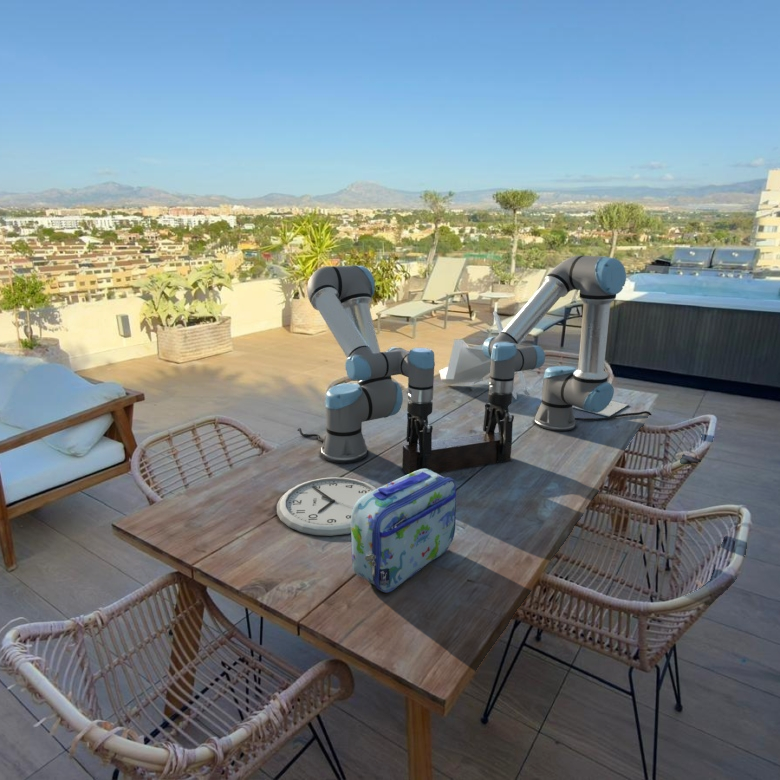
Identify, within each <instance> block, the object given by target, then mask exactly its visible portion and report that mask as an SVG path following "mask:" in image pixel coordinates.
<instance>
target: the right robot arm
mask: <svg viewBox="0 0 780 780" xmlns="http://www.w3.org/2000/svg"><path fill="white" fill-rule="evenodd" d="M626 271H627V270H626V268H625V266H624V264H623V263H622V262H621V261H620V259H617V258H615V257H609V256H595V255H583V254H582V255H581V254H580V255H574V256H571V257H569V258H567V259H565V260H563V261H561V262H560V263H559V264H557V265H556V266H555V267H554V268H553V269H552V270H551V271H550V272H549V273H548V274H547V275H546V276H545V277H544V278H543V284H542V285H541V286H540V287H539V289H537V290H536V291H535V292H534V294H533V295H532V296H531V297H530V298H529V300H527V302H526V303H525V304H524V306H523V307H522V308H521V309H520V310H519V311H518V312H517V313H516V315H514V317H513V318H512V319H511V320H510V321H509V323H507V325H506V326H505V327H504V328H503V331H502V332H501V333H500V334H499V333H498V335H497V336H490V337H488V338H486V339H485V340H484V341H483V344H482V345H483V348H482V350H483V354H484V355H485V356H486V357H487V358H490V359H491V366H490V373H489V383H488V394H487V402H488V403H484V417H483V426H482V431H483V432H484V433H485V434H490V433H496V427H497V429H498V432H499V440H500V443H498V449H497V461H496V462H497V463H496V464H500V463H505V462H506V461H505V454H506V448H507V445H509V444H513V425H514V424H513V422H514V419H515V415H514V414H510V412H509V406H511V405H512V403H513V395H512V391H513V385H515V383H514V382H515V373H517V372H518V371H523V372H524V371H530V370H531V371H533V370H535V369H539V368H541V367H543V365H544V364H545V361H546V353H545V350H544V349H543V348H542V347H541V346H540V345H523V344H521V343H522V342H523V341H524V340H525V339H526V337H527V336H528V335H529V334H530V333H531V331H533V330H534V328H535V327H536V326H537V325H538V324H539V323H540V321H542V319H543V318H544V317H545V316H546V315H547V314H548V312H549V311H550V310H551V308H553V307H554V305H556V303H557V302H558V301H559V300H560V298H564V297H566V296H567V295H568V294H569V293H570V292H571V291H574V290H577V291H579V296H578V297H579V299H580V300H581V301H582V302H583V304H582V315H581V316H582V317H581V329H580V330H581V331H580V342H579V354H578V365H577V367H574V366H569V365H568V366H567V365H557V366H550V367H547V368H546V369H545V371H544V375H543V378H542V379H543V381H542V392H541V402H540V405H537V406H536V410H537V411H536V413H535V417H534V424H535V425H536V426H537V427H539V428H542V429H544V430H549V431H556V432H567V431H572V430H574V429H575V428H576V421H584V422H585V421H586V422H588V421H589V422H591V421H592V422H593V421H594V422H595V421H607V420H613V419H616V418H620V417H621V418H622V417H628V416H640V415H645V414H647V415H648V416H653V414H652V413H651V412H650V411H648V410H643V411H639V412H628V413H626V412H625V413H620V414H615V415H611V416H609V417H608V416H604V417H576V416H575V413H574V407H578V408H581V409H584V410H585V411H584V410H583V411H584V412H588V411H590V412H589V413H592V412H594V413H593V414H596V413H597V412H600V411H602V410H604V409H605V408H606V407H607V406H608V405H609V403H610V402H611V401H613V397H614V393H615V389H614V388H615V387H614V386H613V385H612V384H611V383H610V382H608V379H609V378H608V377H609V374H608V373H607V372H606V371H605V363H606V352H607V344H608V343H607V341H608V333H609V332H608V331H609V320H610V311H611V303H612V302H613V301H615V300H616V299H617V295H618V294H620V293H621V292H622V291H623V289H624V288H623V287H625V285H626V280H627V272H626ZM497 425H498V426H497Z"/></svg>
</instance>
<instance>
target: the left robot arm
mask: <svg viewBox="0 0 780 780" xmlns="http://www.w3.org/2000/svg"><path fill="white" fill-rule="evenodd" d="M375 287H376V282H375V279H374V276H373V274H372V272H371V271H370V270H369V268H367V267H365V266H363V265H356V264H351V265H334V266H333V265H332V266H331V265H329V266H328V265H327V266H322V267H319V268H318V269H317V270H315V271H313V273H312V274H311V276H310V277H309V279H308V281H307V286H306V295H307V299H308V301H309V303H310V304H311V306H312V308H313V309H314V310H315V311H318V312H319V314H320V315H321V317H322V318H323V320H324V322H325V323H326V325H327V327H328V329H329V330H330V332H331V334H332V335H333V337H334V339H335V340H336V342H337V344H338V345H339V348H340V349H341V351H342V352H343V354H344V356H345V357H346V360H345V364H344V367H345V368H344V369H345V371H346V375H347V377H348V379H350V381H353V382H349V383H347V382H344V383H339V384H336V385H333V386H331V387H330V388H329V389H328V390H327V391H326V393H325V402H324V406H325V430H326V431H325V435H324V439H321V435H320V434H317V433H310V434H309V433H308V434H306V433H303V431H302V428H300V427H299V428H298V429H297V432H299V434H300V435H301V436H302V437H305V438H310V437H316V438H317V440H318V441H319V442H321V443H322V445H321V448H320V453H321V457H322V458H323V459H324V460H325V461H328V462H330V463H337V464H349V463H351V464H352V463H356V462H359V461H361V460H364V459H365V458H366V457H367V456H368V446H367V444H366V439H365V438H364V435H363V430H362V429H363V428H362V423H365V422H369V421H375V420H378V419H386V418H389V417H392V416H395V415H397V414H398V413H399V412H400V410H401V408H402V406H403V401H404V399H403V398H404V394H403V389H402V387H401V385H400V384H399V382H397V381H395V380H393V378H392V377H393V376H397V375H401V376H404V377H406V378H407V381H408V382H407V391H406V394H407V399H408V400H407V407H406V408H407V409H406V410H407V413H406V417H407V423H406V439H405V440H406V443H408V445H412V444H419V451H420V455H418V470H420V469H427V457H430V456H431V449H432V442H433V441H432V440H433V438H432V437H433V436H432V435H433V425H429V416H430V415H431V414H432V413H433V407H434V406H433V405H434V403H433V400H434V381H435V366H436V363H435V362H436V361H435V352H434V350H432V349H431V348H425V347H414V348H412V349H410V350H406V349H405V348H402V347H397V346H392V347H389V348H388V349H387V350H386V351H381V348H380V345H379V340H378V336H377V333H376V329H375V324H374V320H373V317H372V313H371V309H370V304H371V303H372V301H373V299H372V298H373V296H374V295H375V290H376V289H375ZM355 382H357V383H355Z"/></svg>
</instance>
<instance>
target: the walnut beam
mask: <svg viewBox="0 0 780 780" xmlns="http://www.w3.org/2000/svg"><path fill="white" fill-rule="evenodd" d="M498 443H500V440H499V431H498V432H495V433H490V434H486V433H484V434H476V435H469V436H463V437H462V436H461V437H456V438H447V439H441V440H434V441H432V449H431V456H430V457H427V469H429V470H431V471H433V472H435V473H437V474H439V473H445V472H449V471H457V470H463V469H468V468H476V467H481V466H486V465H487V466H488V465H493V464H498V463H497V462H496V461H497V449H498ZM512 444H513V443H512ZM512 444H509V445H507V448H506V454H505V462H510V461H511V455H512ZM418 455H420V451H419V444H412V445H409V444H405V445H402V466H401V467H402V471H404V472H405V475H407V474H410V473H412V472H414V471H417V470H418Z"/></svg>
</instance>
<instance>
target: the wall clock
mask: <svg viewBox="0 0 780 780" xmlns="http://www.w3.org/2000/svg"><path fill="white" fill-rule="evenodd" d="M376 489H378V487H376V486H374V485H372V484H371V483H369V482H365V481H362V480H359V479H355V478H349V477H338V476H337V477H335V476H333V477H332V476H331V477H322V478H317V479H312V480H307V481H305V482H302V483H299V484H297V485H295V486H293V487H292V488H290V489H288V490H287V491H286V492H285V493H284V494H283V495H281V496H280V498H279V499H278V502H277V503H276V515H277V517H278V518H279V520H280V521H281V522H282V523H283V524H285V525H286V526H287V527H288V528H290V529H293V530H295V531H297V532H299V533H303V534H308V535H312V536H327V537H328V536H329V537H331V536H332V537H333V536H342V535H350V534H351V514H352V510H353V507H354V505H355V504H356V502H357V501H358V500H359V499H360V498H361V497H362V496H364V495H365V494H367V493H370V492H372V491H374V490H376Z"/></svg>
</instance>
